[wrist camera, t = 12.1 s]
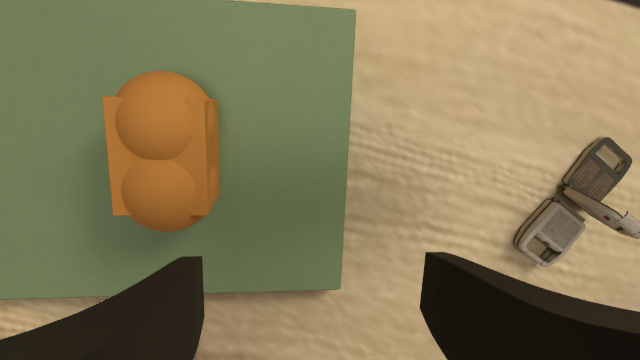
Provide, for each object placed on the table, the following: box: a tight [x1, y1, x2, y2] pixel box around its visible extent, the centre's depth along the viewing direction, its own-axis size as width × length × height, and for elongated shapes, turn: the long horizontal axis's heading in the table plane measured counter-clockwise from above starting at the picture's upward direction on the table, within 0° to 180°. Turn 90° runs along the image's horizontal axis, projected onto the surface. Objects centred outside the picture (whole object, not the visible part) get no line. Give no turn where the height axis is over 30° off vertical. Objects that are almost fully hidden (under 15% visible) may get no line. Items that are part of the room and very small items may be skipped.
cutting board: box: [0, 0, 356, 300], centre depth 18 cm, size 15×20×1 cm
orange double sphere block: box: [102, 71, 220, 232], centre depth 16 cm, size 7×4×4 cm, turn 178°
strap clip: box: [515, 137, 640, 267], centre depth 21 cm, size 8×3×4 cm, turn 143°
